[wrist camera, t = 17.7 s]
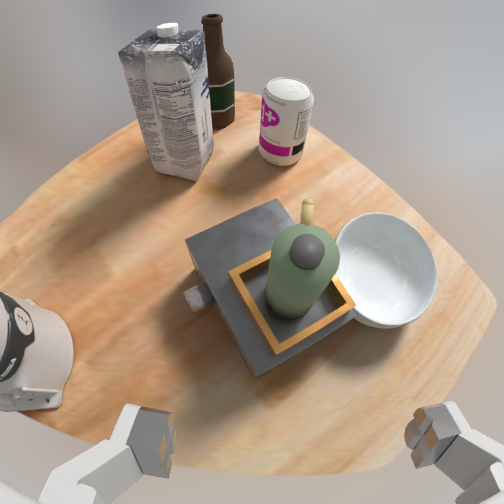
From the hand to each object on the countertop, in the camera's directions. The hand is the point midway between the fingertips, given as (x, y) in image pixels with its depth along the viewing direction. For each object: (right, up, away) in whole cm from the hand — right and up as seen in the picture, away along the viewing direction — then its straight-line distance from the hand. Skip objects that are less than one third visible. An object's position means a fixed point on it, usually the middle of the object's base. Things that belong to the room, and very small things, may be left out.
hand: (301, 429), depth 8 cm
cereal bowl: (+17, +1, +36) cm, 40 cm away
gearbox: (-1, -2, +34) cm, 34 cm away
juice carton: (-14, +22, +45) cm, 52 cm away
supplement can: (+4, +24, +47) cm, 53 cm away
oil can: (+3, +2, +26) cm, 26 cm away
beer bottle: (-9, +34, +51) cm, 62 cm away
